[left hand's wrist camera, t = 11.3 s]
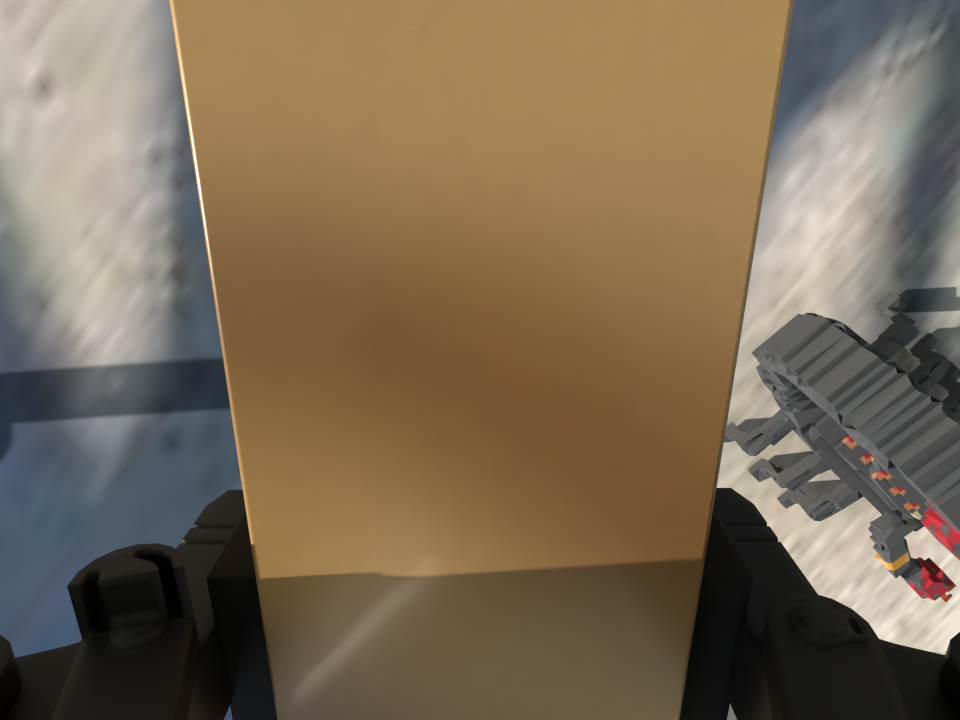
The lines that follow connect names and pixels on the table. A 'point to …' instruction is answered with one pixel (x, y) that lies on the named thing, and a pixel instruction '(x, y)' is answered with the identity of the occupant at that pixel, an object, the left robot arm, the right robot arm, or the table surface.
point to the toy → (867, 432)
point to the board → (480, 333)
